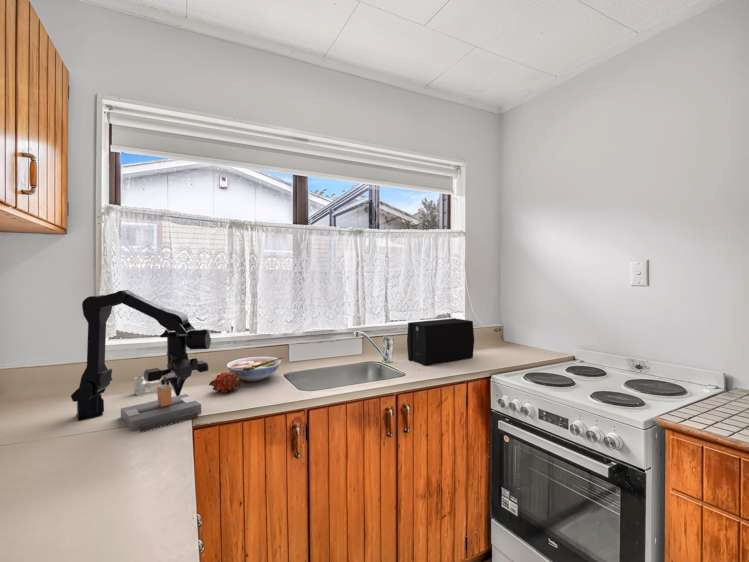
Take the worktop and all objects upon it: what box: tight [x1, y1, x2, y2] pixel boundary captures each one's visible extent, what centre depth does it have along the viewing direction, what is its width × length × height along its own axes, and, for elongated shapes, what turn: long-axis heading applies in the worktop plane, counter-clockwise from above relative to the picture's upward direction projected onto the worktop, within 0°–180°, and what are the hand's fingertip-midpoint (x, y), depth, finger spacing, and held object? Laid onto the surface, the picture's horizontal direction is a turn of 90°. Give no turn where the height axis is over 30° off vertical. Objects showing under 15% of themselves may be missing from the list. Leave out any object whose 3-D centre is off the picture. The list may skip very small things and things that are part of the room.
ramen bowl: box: [226, 356, 285, 382], centre depth 163 cm, size 25×23×8 cm
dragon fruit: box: [208, 370, 242, 394], centre depth 147 cm, size 8×8×12 cm
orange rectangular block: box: [156, 384, 173, 407], centre depth 123 cm, size 3×4×6 cm
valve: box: [133, 375, 170, 396], centre depth 147 cm, size 7×7×12 cm
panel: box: [120, 393, 202, 432], centre depth 123 cm, size 20×15×3 cm
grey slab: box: [139, 411, 199, 433], centre depth 123 cm, size 16×20×2 cm
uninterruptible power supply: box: [406, 318, 475, 367], centre depth 198 cm, size 16×34×20 cm, turn 119°
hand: (177, 395), depth 126 cm, fingers closed
